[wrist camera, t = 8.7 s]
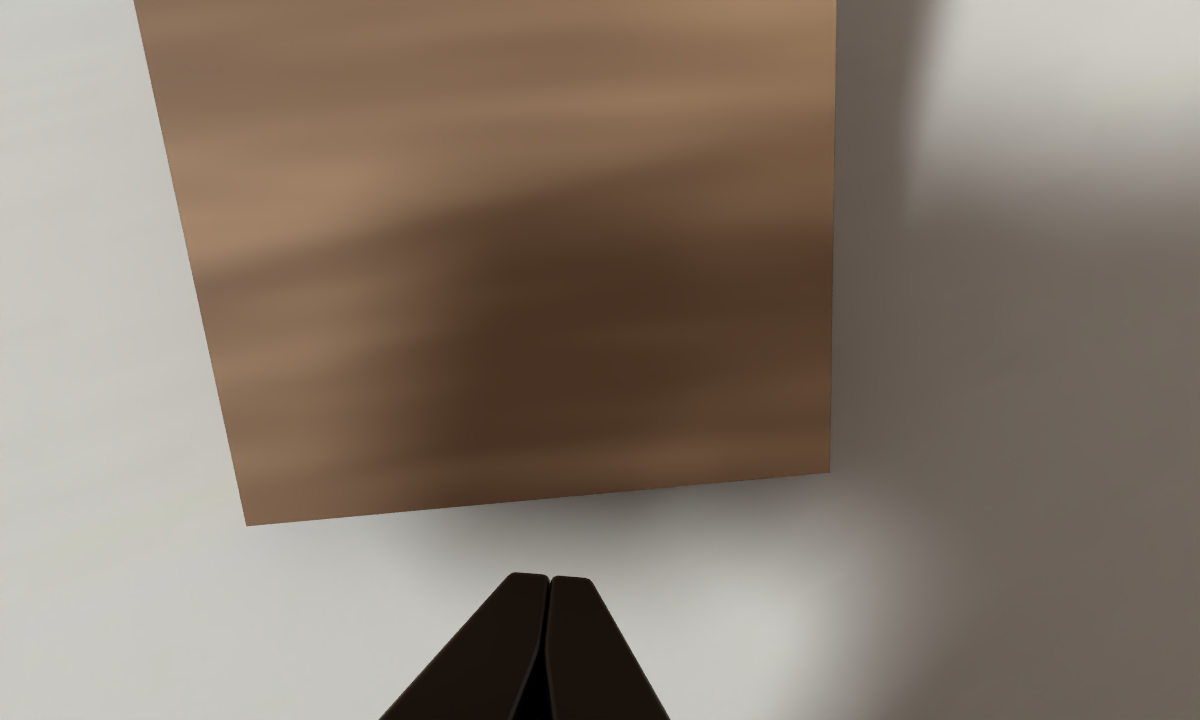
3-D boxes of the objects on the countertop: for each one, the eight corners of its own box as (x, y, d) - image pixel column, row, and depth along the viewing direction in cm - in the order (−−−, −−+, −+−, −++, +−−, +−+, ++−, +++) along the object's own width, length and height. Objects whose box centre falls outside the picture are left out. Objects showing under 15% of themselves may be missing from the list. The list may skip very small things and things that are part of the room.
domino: (829, 471, 17) (839, -205, 14) (246, 526, 17) (99, -157, 13) (805, 432, 19) (808, -189, 15) (268, 480, 18) (142, -145, 15)
